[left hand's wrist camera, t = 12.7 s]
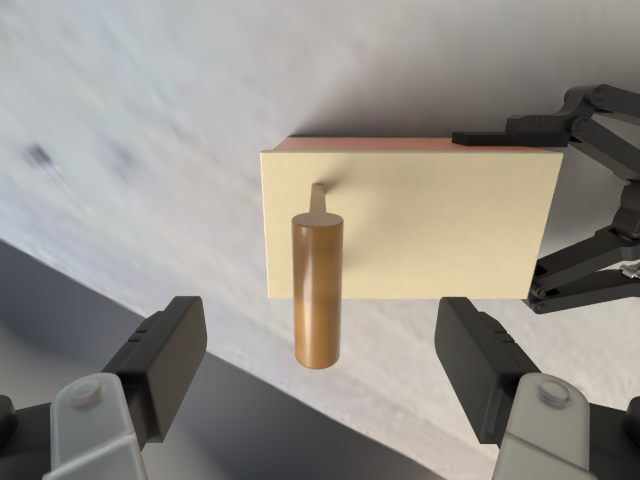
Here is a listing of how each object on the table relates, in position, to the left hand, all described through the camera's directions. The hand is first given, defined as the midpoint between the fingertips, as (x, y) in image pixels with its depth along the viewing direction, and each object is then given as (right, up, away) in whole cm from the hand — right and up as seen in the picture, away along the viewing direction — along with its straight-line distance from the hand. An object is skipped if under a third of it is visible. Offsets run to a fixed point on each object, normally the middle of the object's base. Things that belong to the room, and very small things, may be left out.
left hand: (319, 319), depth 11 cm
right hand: (+10, +5, +13) cm, 17 cm away
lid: (+5, +4, +10) cm, 11 cm away
